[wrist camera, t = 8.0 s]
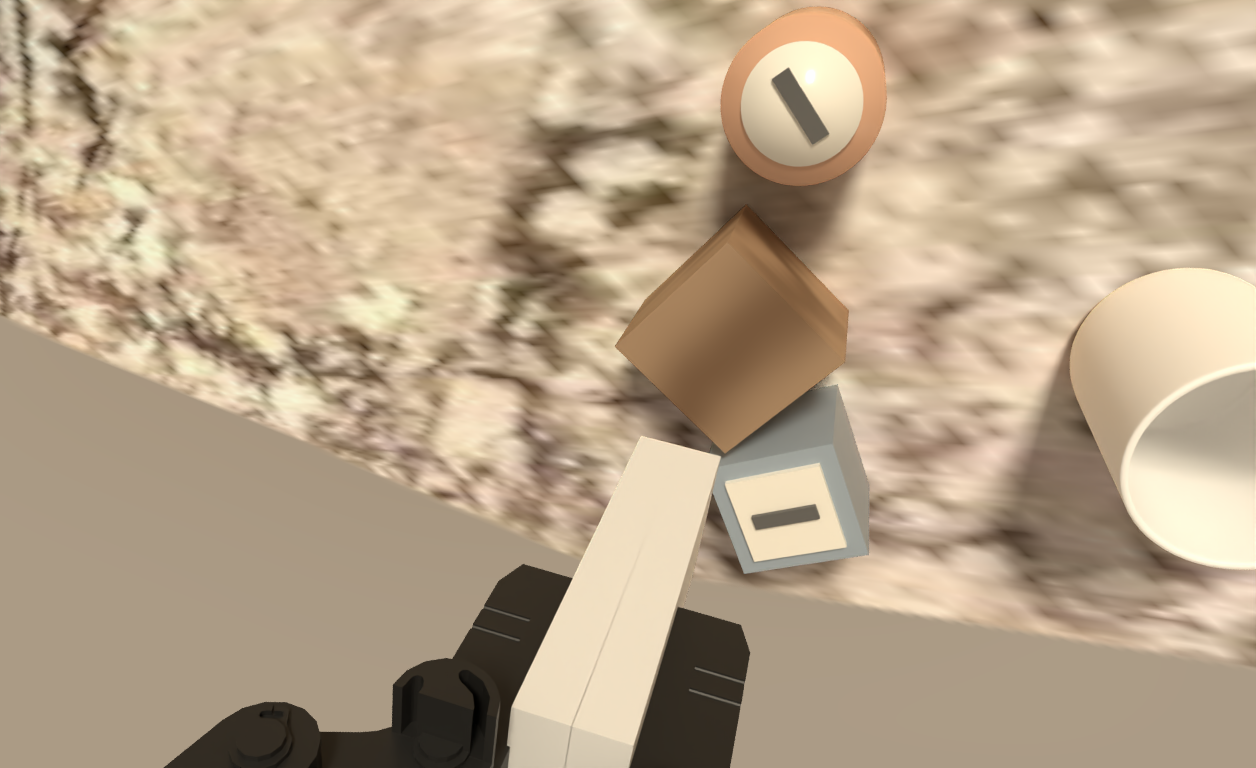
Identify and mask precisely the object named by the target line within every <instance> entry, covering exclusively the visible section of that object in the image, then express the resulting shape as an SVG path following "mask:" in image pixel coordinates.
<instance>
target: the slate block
mask: <svg viewBox="0 0 1256 768" xmlns="http://www.w3.org/2000/svg"><path fill="white" fill-rule="evenodd" d="M709 453H710V454H714V455H717V456H721V458H720V462H719V467H718V471H717V475H716V479H715V484H714V488H713V495H714V497H715V500H716V502H717V505H718V508H719V510H720V513H721V515H722V518H723V520H724V523H725V526H726V528H727V531H728V533H729V536H730V538H731V541H732V544H733V546H734V549H735V551H736V554H737V556H738V559H739V562H740V564H741V567H742V569H743V572H744V574H747V573H753V572H760V571H766V570H773V569H779V568H786V567H792V566H799V565H806V564H812V563H819V562H825V561H832V560H838V559H845V558H851V557H858V556H865V555H869V483H868V480H867V476H866V473H865V470H864V467H863V464H862V461H861V457H860V454H859V451H858V448H857V445H856V441H855V438H854V435H853V432H852V429H851V426H850V422H849V419H848V416H847V413H846V410H845V406H844V403H843V400H842V397H841V394H840V391H839V387H838V384H837V385H833V386H828V387H824V388H819V389H815V390H811V391H806V392H805V393H804V394H803V395H801V396H800V397H799V398H797V399H796V400H795V401H793V402H792V403H791V404H789V405H788V406H787V407H785V408H784V409H783V410H782V411H780V412H779V413H778V414H776V415H775V416H774V417H772V418H771V419H770V420H768V421H767V422H766V423H765V424H763V425H762V426H761V427H759V428H758V429H757V430H755V431H754V432H753V433H751V434H750V435H749V436H747V437H746V438H745V439H744V440H742V441H741V442H740V443H738V444H737V445H736V446H734V447H733V448H732V449H730V450H729V451H728V452H727V453H724V452H723V451H722V450H721V449H720V448H719V447H718V446H717V445H716V444H715V443H714V442H713V443H712V446H711V449H710V452H709Z"/></svg>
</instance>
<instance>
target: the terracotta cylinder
mask: <svg viewBox="0 0 1256 768" xmlns="http://www.w3.org/2000/svg"><path fill="white" fill-rule="evenodd" d="M886 100H887V96H886V80H885V69H884V62H883V57H882V54H881V51H880V48H879V46H878V44H877V42H876V40H875V38H874V37H873V35H872V34H871V32H870V31H869V30H868V29H867V28H866V27H865V26H864V25H863V24H862V23H861V22H860V21H859V20H857V19H856V18H854V17H853V16H851V15H849V14H848V13H845V12H843V11H841V10H838V9H834V8H830V7H820V6H818V7H806V8H801V9H797V10H794V11H791V12H789V13H787V14H785V15H783V16H781V17H779V18H778V19H776V20H775V21H773V22H772V23H771V24H769V25H768V26H767V27H765V28H764V29H762V30H761V31H760V32H758V33H757V34H756V35H755V36H753V37H752V38H751V39H750V40H749V41H748V42H747V43H746V44H745V45H744V46H743V47H742V48H741V49H740V51H739V52H738V54H737V55H736V56H735V58H734V60H733V61H732V63H731V65H730V67H729V69H728V72H727V74H726V77H725V80H724V84H723V88H722V94H721V117H722V123H723V127H724V131H725V134H726V136H727V139H728V141H729V143H730V145H731V147H732V148H733V150H734V152H735V153H736V154H737V156H738V157H739V158H740V159H741V160H742V161H743V163H744V164H745V165H746V166H748V167H749V168H750V169H751V170H753V171H754V172H755V173H757V174H759V175H760V176H762V177H764V178H766V179H768V180H771V181H773V182H777V183H780V184H784V185H791V186H807V185H815V184H819V183H823V182H826V181H829V180H831V179H834V178H836V177H838V176H839V175H841V174H843V173H845V172H846V171H848V170H849V169H850V168H852V167H853V166H854V165H855V164H856V163H858V162H859V161H860V160H861V159H862V158H863V156H864V155H865V154H866V153H867V152H868V151H869V149H870V148H871V146H872V145H873V143H874V142H875V140H876V138H877V136H878V134H879V132H880V129H881V126H882V123H883V120H884V115H885V110H886Z"/></svg>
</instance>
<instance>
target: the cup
mask: <svg viewBox="0 0 1256 768" xmlns="http://www.w3.org/2000/svg"><path fill="white" fill-rule="evenodd" d="M1070 377H1071V382H1072V386H1073V389H1074V392H1075V396H1076V398H1077V401H1078V403H1079V405H1080V407H1081V410H1082V412H1083V414H1084V416H1085V418H1086V421H1087V423H1088V425H1089V427H1090V430H1091V432H1092V434H1093V436H1094V439H1095V441H1096V443H1097V445H1098V447H1099V450H1100V452H1101V454H1102V456H1103V459H1104V461H1105V463H1106V465H1107V467H1108V470H1109V472H1110V474H1111V476H1112V479H1113V481H1114V483H1115V485H1116V488H1117V490H1118V492H1119V494H1120V496H1121V499H1122V501H1123V503H1124V505H1125V507H1126V510H1127V512H1128V514H1129V515H1130V517H1131V519H1132V520H1133V522H1134V523H1135V524H1136V526H1137V527H1138V528H1139V529H1140V531H1141V532H1142V533H1143V534H1144V535H1145V536H1146V537H1148V538H1149V539H1150V540H1151V541H1153V542H1154V543H1155V544H1157V545H1158V546H1160V547H1161V548H1163V549H1164V550H1166V551H1168V552H1170V553H1172V554H1173V555H1176V556H1178V557H1180V558H1183V559H1185V560H1188V561H1191V562H1194V563H1197V564H1201V565H1205V566H1209V567H1215V568H1221V569H1232V570H1256V287H1255V286H1253V285H1252V284H1250V283H1248V282H1246V281H1244V280H1242V279H1240V278H1238V277H1235V276H1233V275H1230V274H1227V273H1224V272H1220V271H1216V270H1211V269H1203V268H1178V269H1170V270H1164V271H1159V272H1155V273H1151V274H1148V275H1145V276H1142V277H1140V278H1137V279H1135V280H1133V281H1131V282H1129V283H1126V284H1125V285H1123V286H1121V287H1119V288H1118V289H1116V290H1115V291H1113V292H1112V293H1110V294H1109V295H1108V296H1106V297H1105V298H1104V299H1103V300H1102V301H1101V302H1100V303H1099V304H1098V305H1097V306H1096V307H1095V308H1094V309H1093V310H1092V311H1091V312H1090V313H1089V315H1088V316H1087V317H1086V319H1085V320H1084V322H1083V323H1082V325H1081V326H1080V328H1079V330H1078V332H1077V334H1076V337H1075V339H1074V342H1073V345H1072V349H1071V354H1070Z"/></svg>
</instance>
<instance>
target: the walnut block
mask: <svg viewBox="0 0 1256 768" xmlns="http://www.w3.org/2000/svg"><path fill="white" fill-rule="evenodd" d="M848 314H849V310H848V309H847V308H846V307H845V306H844V305H843V304H842V303H841V302H840V301H839V300H838V299H837V298H836V297H835V296H834V295H833V294H832V293H831V292H830V291H829V290H828V289H827V288H826V286H825V285H824V284H823V283H822V282H821V281H820V280H819V279H818V278H817V277H816V276H815V275H814V274H813V273H812V272H811V271H810V270H809V269H808V268H807V267H806V266H805V265H804V264H803V263H802V262H801V261H800V260H799V259H798V257H797V256H796V255H795V254H794V253H793V252H792V251H791V250H790V249H789V248H788V247H787V246H786V245H785V244H784V243H783V242H782V241H781V240H780V239H779V238H778V237H777V236H776V235H775V234H774V233H773V232H772V231H771V229H770V228H769V227H768V226H767V225H766V224H765V223H764V222H763V221H762V220H761V219H760V218H759V217H758V216H757V215H756V214H755V213H754V212H753V211H752V210H751V209H750V208H749V207H748V206H747V205H745V206H744V207H743V208H742V209H741V210H740V211H739V212H738V213H737V214H736V215H735V216H734V217H733V218H732V219H730V220H729V221H728V222H727V223H726V224H725V225H724V226H723V227H722V228H721V229H720V230H719V231H718V232H717V233H716V234H715V235H713V236H712V237H711V238H710V239H709V240H708V241H707V242H706V243H705V244H704V245H703V246H702V247H701V248H700V249H699V250H698V251H696V252H695V253H694V254H693V255H692V256H691V257H690V258H689V259H688V260H687V261H686V262H685V263H684V264H683V265H682V266H681V267H679V268H678V269H677V270H676V271H675V272H674V273H673V274H672V275H671V276H670V277H669V278H668V279H667V280H666V281H665V282H664V283H662V284H661V285H660V286H659V287H658V288H657V289H656V290H655V291H654V292H653V293H652V294H651V295H650V296H649V297H648V298H647V299H645V301H644V302H643V304H642V305H641V307H640V309H639V310H638V312H637V313H636V315H635V316H634V318H633V319H632V321H631V322H630V324H629V325H628V327H627V329H626V330H625V332H624V333H623V335H622V336H621V338H620V339H619V341H618V342H617V344H616V345H615V347H616V348H617V349H618V350H619V351H620V352H621V353H622V354H623V355H624V356H625V357H626V358H627V359H628V360H629V361H630V362H631V363H632V364H633V365H634V366H635V367H636V368H637V369H638V370H639V371H640V372H642V373H643V374H644V375H645V376H646V377H647V378H648V379H649V380H650V381H651V382H652V383H653V384H654V385H655V386H656V387H657V388H658V389H659V390H660V391H661V392H662V393H663V394H664V395H665V396H666V397H667V398H668V399H669V400H670V401H671V402H672V403H673V404H674V405H675V406H677V407H678V408H679V409H680V410H681V411H682V412H683V413H684V414H685V415H686V416H687V417H688V418H689V419H690V420H691V421H692V422H693V423H694V424H695V425H696V426H697V427H698V428H699V429H700V430H701V431H702V432H703V433H704V434H705V435H706V436H707V437H708V438H709V439H711V440H712V441H713V442H714V443H715V444H716V445H717V446H718V447H719V448H720V449H721V450H722V451H723V452H724V453H727V452H728V451H729V450H730V449H732V448H733V447H734V446H736V445H737V444H738V443H740V442H741V441H742V440H744V439H745V438H746V437H747V436H749V435H750V434H751V433H753V432H754V431H755V430H757V429H758V428H759V427H761V426H762V425H763V424H765V423H766V422H767V421H768V420H770V419H771V418H772V417H774V416H775V415H776V414H778V413H779V412H780V411H782V410H783V409H784V408H785V407H787V406H788V405H789V404H791V403H792V402H793V401H795V400H796V399H797V398H799V397H800V396H801V395H803V394H804V393H805V392H806V391H808V390H809V389H810V388H812V387H813V386H814V385H816V384H817V383H818V382H820V381H821V380H822V379H823V378H825V377H826V376H827V375H829V374H830V373H831V372H833V371H834V370H835V369H837V368H838V367H839V366H841V365H842V364H843V363H844V362H845V356H846V342H847V328H848Z"/></svg>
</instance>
